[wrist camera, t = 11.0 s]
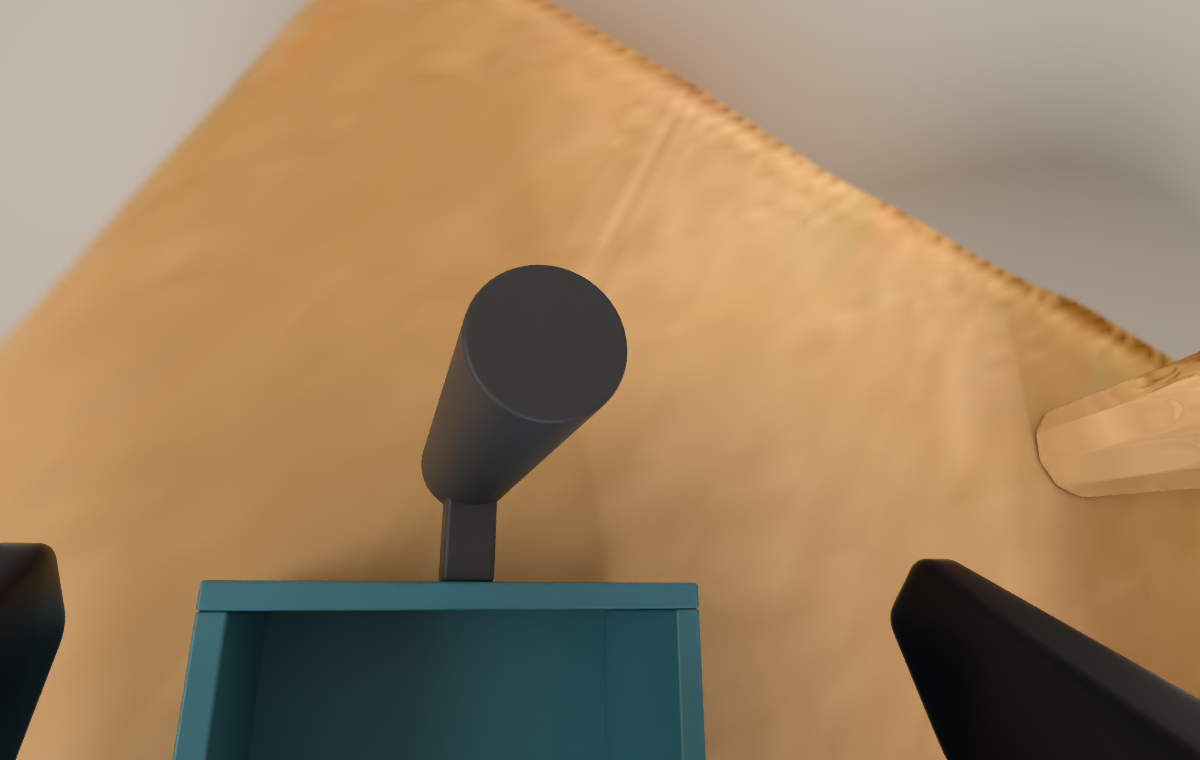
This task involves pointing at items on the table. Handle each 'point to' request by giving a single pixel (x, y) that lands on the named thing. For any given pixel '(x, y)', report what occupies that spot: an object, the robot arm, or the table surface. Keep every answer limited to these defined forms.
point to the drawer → (464, 593)
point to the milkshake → (1128, 435)
